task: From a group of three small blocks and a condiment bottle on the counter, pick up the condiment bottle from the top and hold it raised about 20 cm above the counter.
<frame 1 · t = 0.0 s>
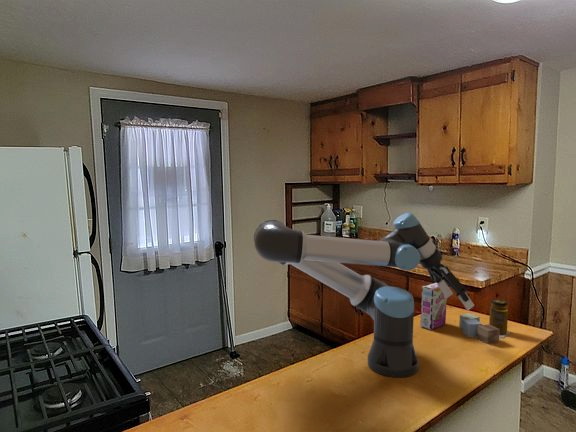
hand: (459, 301, 135), 15 cm above the worktop, tool tilted 35°, fingers open, 13 cm apart
candy bar box: (433, 326, 153), on the worktop
condiment: (496, 333, 147), on the worktop
sage block: (469, 328, 151), on the worktop
walnut block: (487, 341, 139), on the worktop
slate block: (471, 334, 145), on the worktop
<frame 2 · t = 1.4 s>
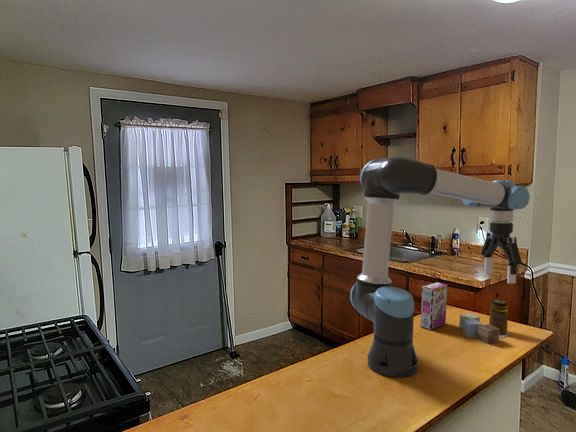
hand: (499, 278, 145), 21 cm above the worktop, tool pointing down, fingers open, 13 cm apart
nothing on the worktop moved.
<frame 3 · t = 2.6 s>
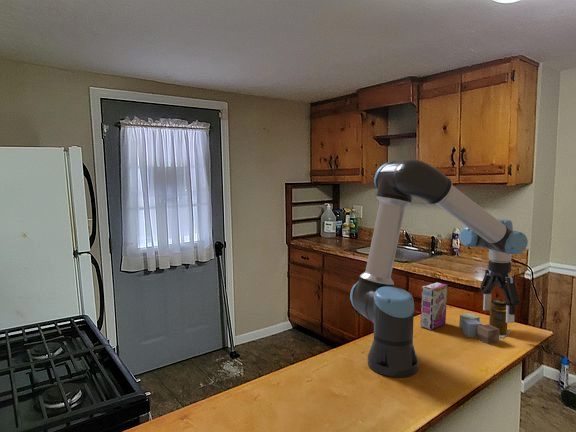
hand: (497, 316, 146), 6 cm above the worktop, tool pointing down, fingers open, 13 cm apart
nothing on the worktop moved.
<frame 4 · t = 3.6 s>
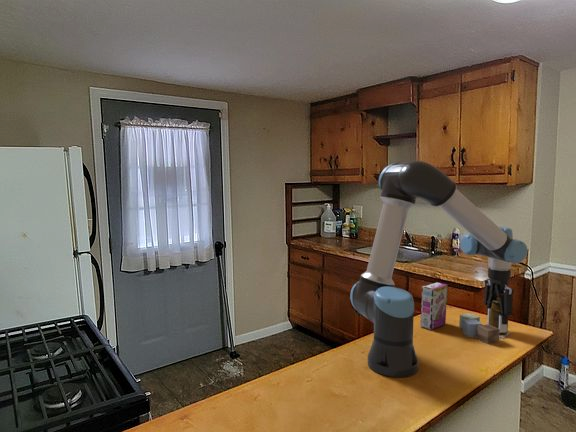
hand: (496, 328, 147), 1 cm above the worktop, tool pointing down, fingers closed on condiment, 6 cm apart
condiment: (497, 333, 146), on the worktop, touching gripper
everything else where it was.
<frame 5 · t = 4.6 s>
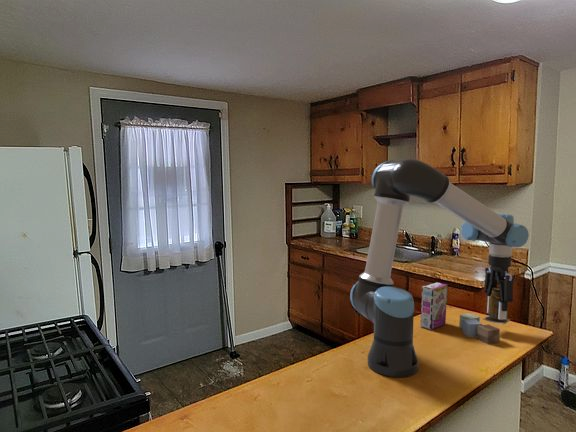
hand: (496, 315, 146), 6 cm above the worktop, tool pointing down, fingers closed on condiment, 6 cm apart
condiment: (496, 320, 146), point 5 cm above the worktop, touching gripper
everything else where it was.
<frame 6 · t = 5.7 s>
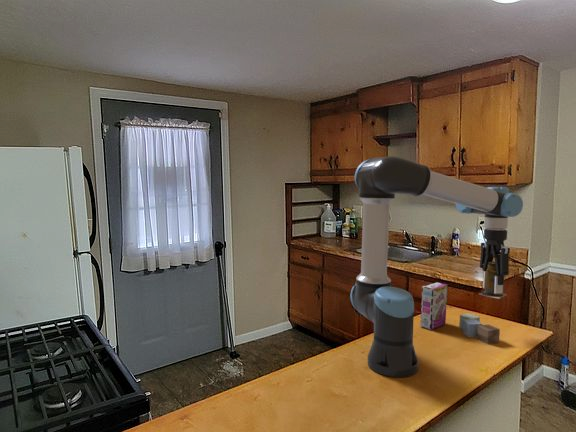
hand: (492, 290, 144), 17 cm above the worktop, tool pointing down, fingers closed on condiment, 6 cm apart
condiment: (492, 295, 144), point 15 cm above the worktop, touching gripper
everything else where it was.
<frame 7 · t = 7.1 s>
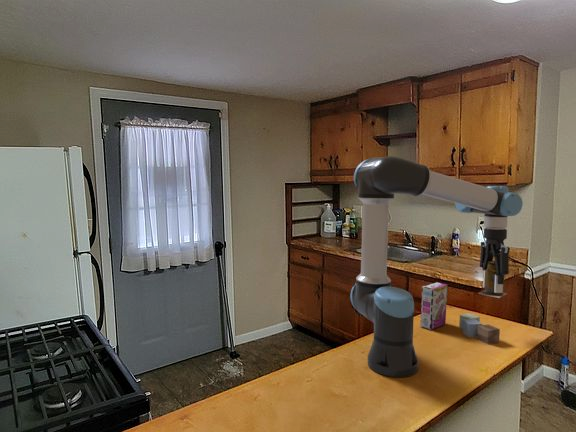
hand: (492, 289, 144), 17 cm above the worktop, tool pointing down, fingers closed on condiment, 6 cm apart
condiment: (492, 294, 144), point 15 cm above the worktop, touching gripper
everything else where it was.
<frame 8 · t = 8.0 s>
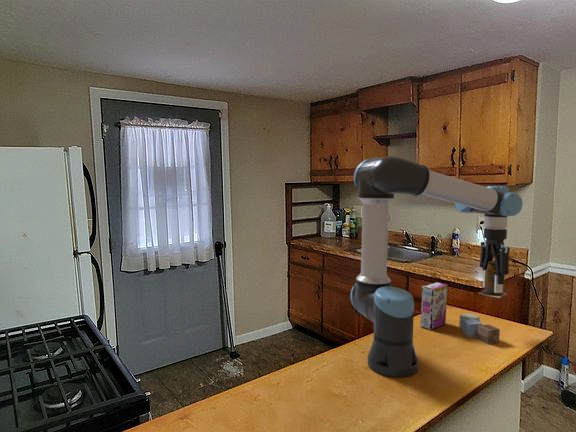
hand: (492, 289, 144), 17 cm above the worktop, tool pointing down, fingers closed on condiment, 6 cm apart
condiment: (492, 294, 144), point 15 cm above the worktop, touching gripper
everything else where it was.
at the end: the gripper is holding condiment; condiment point 15.1 cm above the worktop; slate block moved 0.1 cm from its start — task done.
